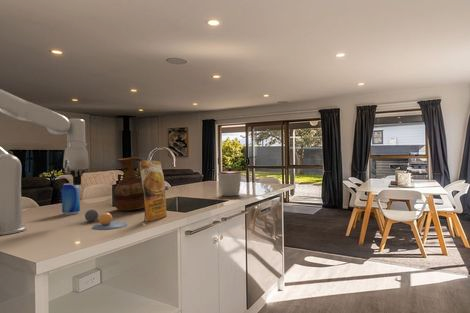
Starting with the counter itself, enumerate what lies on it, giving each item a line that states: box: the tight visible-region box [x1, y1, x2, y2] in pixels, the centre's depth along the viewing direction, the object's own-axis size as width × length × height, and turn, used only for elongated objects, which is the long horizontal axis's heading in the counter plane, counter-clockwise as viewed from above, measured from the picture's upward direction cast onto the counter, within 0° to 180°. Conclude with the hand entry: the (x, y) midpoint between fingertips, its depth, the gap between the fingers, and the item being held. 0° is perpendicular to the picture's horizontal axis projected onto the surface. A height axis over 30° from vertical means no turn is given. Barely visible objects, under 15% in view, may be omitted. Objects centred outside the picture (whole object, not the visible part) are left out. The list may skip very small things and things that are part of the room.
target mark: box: [91, 221, 128, 231], centre depth 129 cm, size 14×14×1 cm
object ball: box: [98, 212, 113, 225], centre depth 130 cm, size 6×6×6 cm
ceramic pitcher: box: [113, 156, 145, 211], centre depth 169 cm, size 20×20×30 cm
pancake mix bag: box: [138, 159, 168, 222], centre depth 143 cm, size 7×19×28 cm, turn 157°
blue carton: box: [61, 182, 81, 216], centre depth 159 cm, size 8×8×16 cm
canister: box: [217, 166, 243, 197], centre depth 222 cm, size 18×18×21 cm
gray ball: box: [84, 209, 99, 223], centre depth 138 cm, size 6×6×6 cm
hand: (77, 184), depth 139 cm, fingers closed
